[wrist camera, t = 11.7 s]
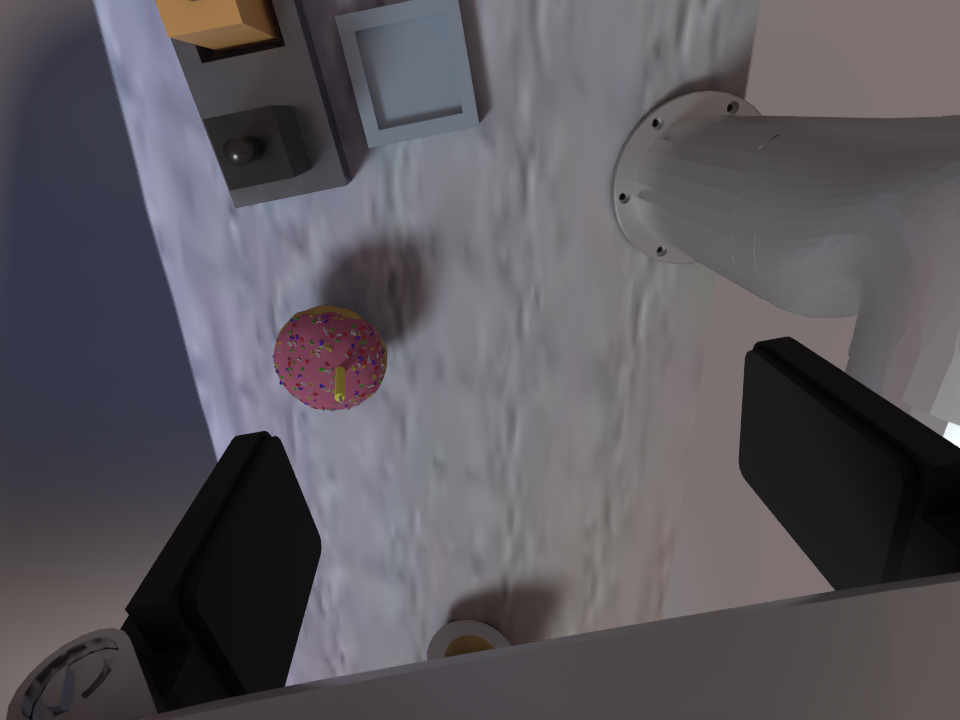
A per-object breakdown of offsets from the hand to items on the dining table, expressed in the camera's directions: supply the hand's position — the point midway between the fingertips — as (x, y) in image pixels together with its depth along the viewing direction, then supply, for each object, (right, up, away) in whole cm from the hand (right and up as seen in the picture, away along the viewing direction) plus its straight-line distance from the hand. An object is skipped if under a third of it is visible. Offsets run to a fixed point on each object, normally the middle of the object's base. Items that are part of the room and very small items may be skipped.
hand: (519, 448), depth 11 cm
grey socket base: (-16, +21, +25) cm, 36 cm away
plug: (-16, +24, +24) cm, 38 cm away
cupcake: (-13, +4, +34) cm, 37 cm away
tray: (-6, +22, +26) cm, 34 cm away
